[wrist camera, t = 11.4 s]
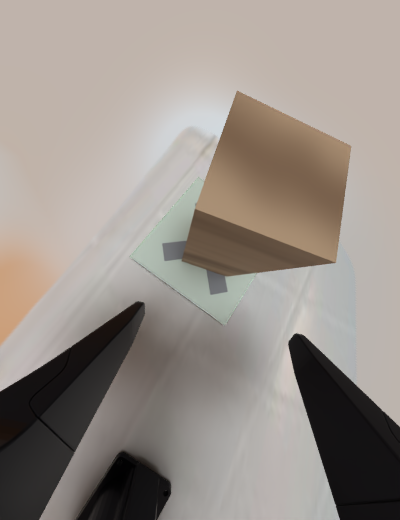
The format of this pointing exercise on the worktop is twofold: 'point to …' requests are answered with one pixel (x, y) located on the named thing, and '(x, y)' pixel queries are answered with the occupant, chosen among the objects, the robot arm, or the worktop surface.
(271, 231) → the walnut block
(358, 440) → the robot arm
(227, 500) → the worktop surface
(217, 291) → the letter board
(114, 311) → the worktop surface
